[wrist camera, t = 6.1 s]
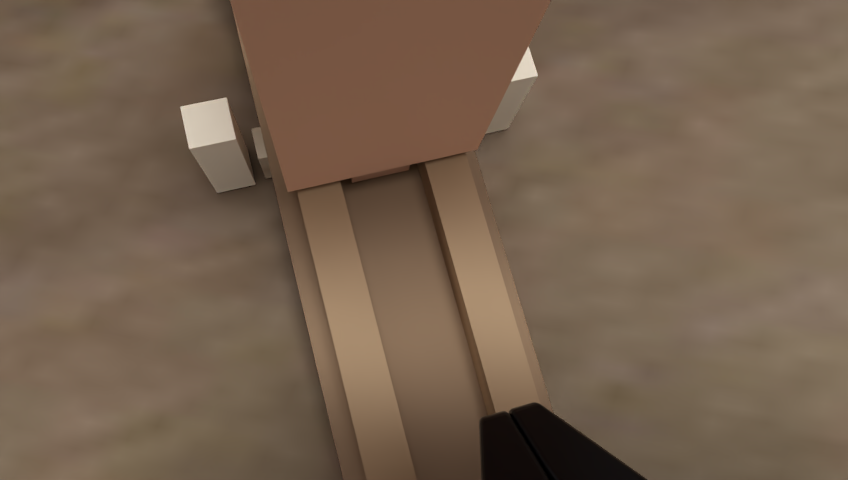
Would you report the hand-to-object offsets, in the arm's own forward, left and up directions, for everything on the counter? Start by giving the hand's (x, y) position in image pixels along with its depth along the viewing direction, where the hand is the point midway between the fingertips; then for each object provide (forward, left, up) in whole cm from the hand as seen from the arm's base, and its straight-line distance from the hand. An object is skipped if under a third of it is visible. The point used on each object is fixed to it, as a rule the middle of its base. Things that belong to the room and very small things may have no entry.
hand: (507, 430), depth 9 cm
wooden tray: (+4, +3, -8) cm, 9 cm away
